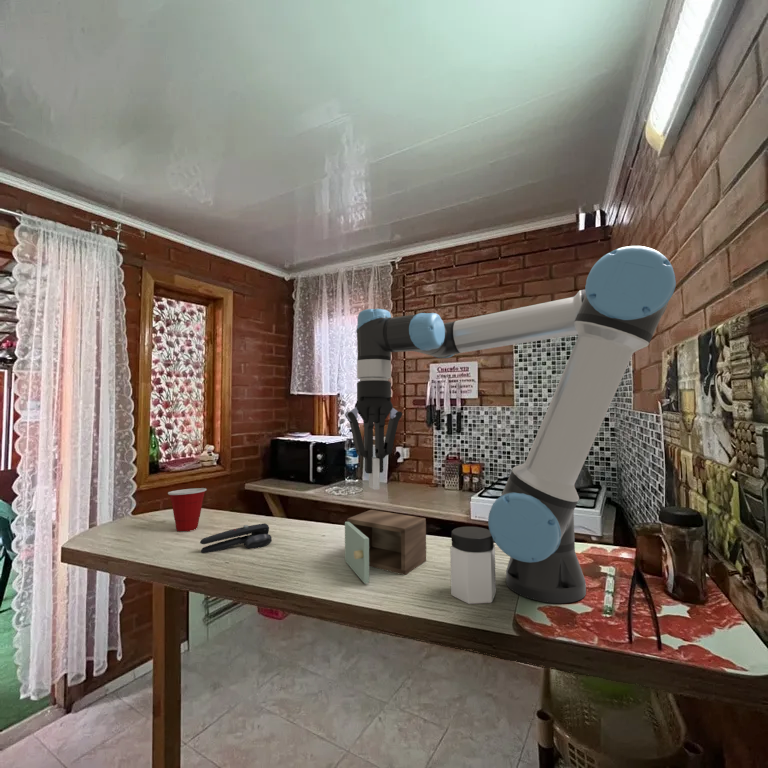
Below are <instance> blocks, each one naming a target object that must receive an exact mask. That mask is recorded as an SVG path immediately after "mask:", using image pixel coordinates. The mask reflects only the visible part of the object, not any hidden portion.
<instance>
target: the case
mask: <svg viewBox="0 0 768 768" xmlns="http://www.w3.org/2000/svg"><path fill="white" fill-rule="evenodd" d="M426 519H427V518H425V517H419V516H415V515H407V514H401V513H396V512H395V513H393V512H389V511H382V510H375V509H370V510H367V511H366V510H365V511H364V512H361V513H359V514H356V515H353V516H350V517H347V519H346V522H350V523H351V524H352V525H354V526H355V527H356V528H357V529H358V530H360V531H361V532H362V533H363V534H364V535H365V536H367V537H368V538H369V568H374V569H378V568H379V569H380V570H382V569H383V570H384V571H386V570H388V571H387V572H390V571H391V572H390V573H394V572H395V573H396V574H398V573H399V575H402V576H407V575H408V574H409V573H410V572H412V571H414V570H415V569H416V568H418V567H419V566H421V565H422V564H424V563H425V562H426V561H427V521H426ZM379 569H378V570H379ZM395 573H394V574H395Z"/></svg>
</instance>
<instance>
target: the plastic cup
mask: <svg viewBox="0 0 768 768" xmlns="http://www.w3.org/2000/svg"><path fill="white" fill-rule="evenodd" d="M207 490H208V489H207V488H206V487H205V488H204V487H201V488H199V487H198V488H197V487H196V488H186V489H177V490H172V491H168V492H167V494H168V495H169V497H170V498H169V499H170V502H171V507H172V512H173V518H174V523H175V530H176V532H178V531H187V532H191V531H190V530H193V531H195V530H197V529H198V527H199V523H200V517H201V512H202V507H203V501H204V497H205V493H206V491H207ZM196 528H197V529H196ZM194 529H195V530H194Z"/></svg>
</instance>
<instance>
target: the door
mask: <svg viewBox="0 0 768 768" xmlns="http://www.w3.org/2000/svg"><path fill="white" fill-rule="evenodd" d="M344 561H345V562H346V564H347V565H348V566H349V568H350V569H351V570H352V571H353V572H354V573H355V574H356V575H357V576H358V578H359V579H360V581H362V582H363V583H364V584H369V583H370V566H369V538H368V537H367V536H365V535H364V534H363V533H362V532H361V531H360V530H358V529H357V528H356V527H355V526H354V525H352V524H351V523H350V522H347V521H345V522H344Z"/></svg>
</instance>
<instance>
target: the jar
mask: <svg viewBox="0 0 768 768" xmlns="http://www.w3.org/2000/svg"><path fill="white" fill-rule="evenodd" d="M450 540H451V546H450V552H449V553H450V593H451V595H450V596H453V597H454V598H456V599H458V600H460V601H462V602H463V603H466V604H468V605H472V604H473V605H476V604H490V603H493V600H494V598H495V595H496V594H497V592H496V591H497V588H496V587H497V586H496V585H497V582H496V579H497V578H496V576H497V575H496V546H495V541H494V540H493V537H492V535H491V533H490V530H489V528H488V529H487V528H484V527H480V526H460V527H456V528H454V529H453V530H451V539H450Z"/></svg>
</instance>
